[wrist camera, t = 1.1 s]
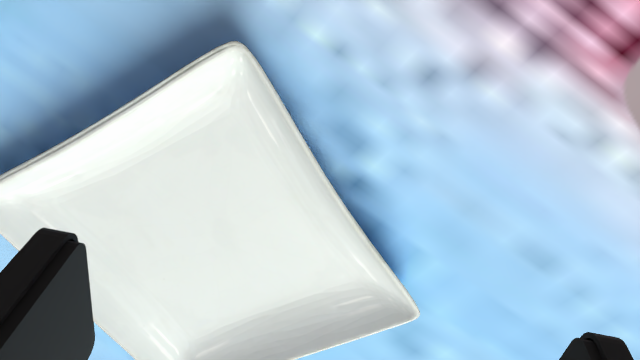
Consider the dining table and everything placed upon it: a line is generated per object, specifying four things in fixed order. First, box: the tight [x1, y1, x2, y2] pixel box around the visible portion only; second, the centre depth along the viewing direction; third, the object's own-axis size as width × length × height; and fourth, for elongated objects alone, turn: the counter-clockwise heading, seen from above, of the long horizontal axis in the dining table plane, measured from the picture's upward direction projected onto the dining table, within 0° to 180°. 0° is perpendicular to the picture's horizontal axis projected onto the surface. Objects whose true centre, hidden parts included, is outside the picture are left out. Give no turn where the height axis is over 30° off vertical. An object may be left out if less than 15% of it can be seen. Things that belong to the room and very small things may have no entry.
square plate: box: [0, 41, 420, 360], centre depth 43 cm, size 27×27×4 cm
